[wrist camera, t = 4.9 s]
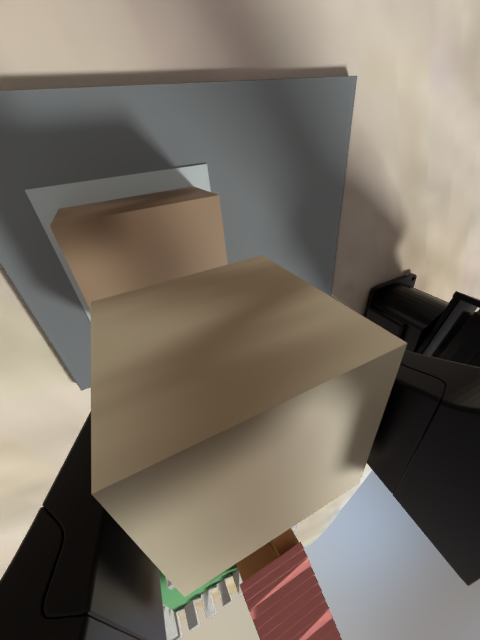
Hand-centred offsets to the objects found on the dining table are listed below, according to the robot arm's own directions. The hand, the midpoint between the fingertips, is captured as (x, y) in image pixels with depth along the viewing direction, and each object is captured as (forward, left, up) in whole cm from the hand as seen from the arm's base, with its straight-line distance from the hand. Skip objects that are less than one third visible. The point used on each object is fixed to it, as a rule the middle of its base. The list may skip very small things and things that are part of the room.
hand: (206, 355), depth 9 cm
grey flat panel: (-4, 0, -11) cm, 12 cm away
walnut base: (0, 0, -10) cm, 10 cm away
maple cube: (0, 0, -1) cm, 1 cm away
